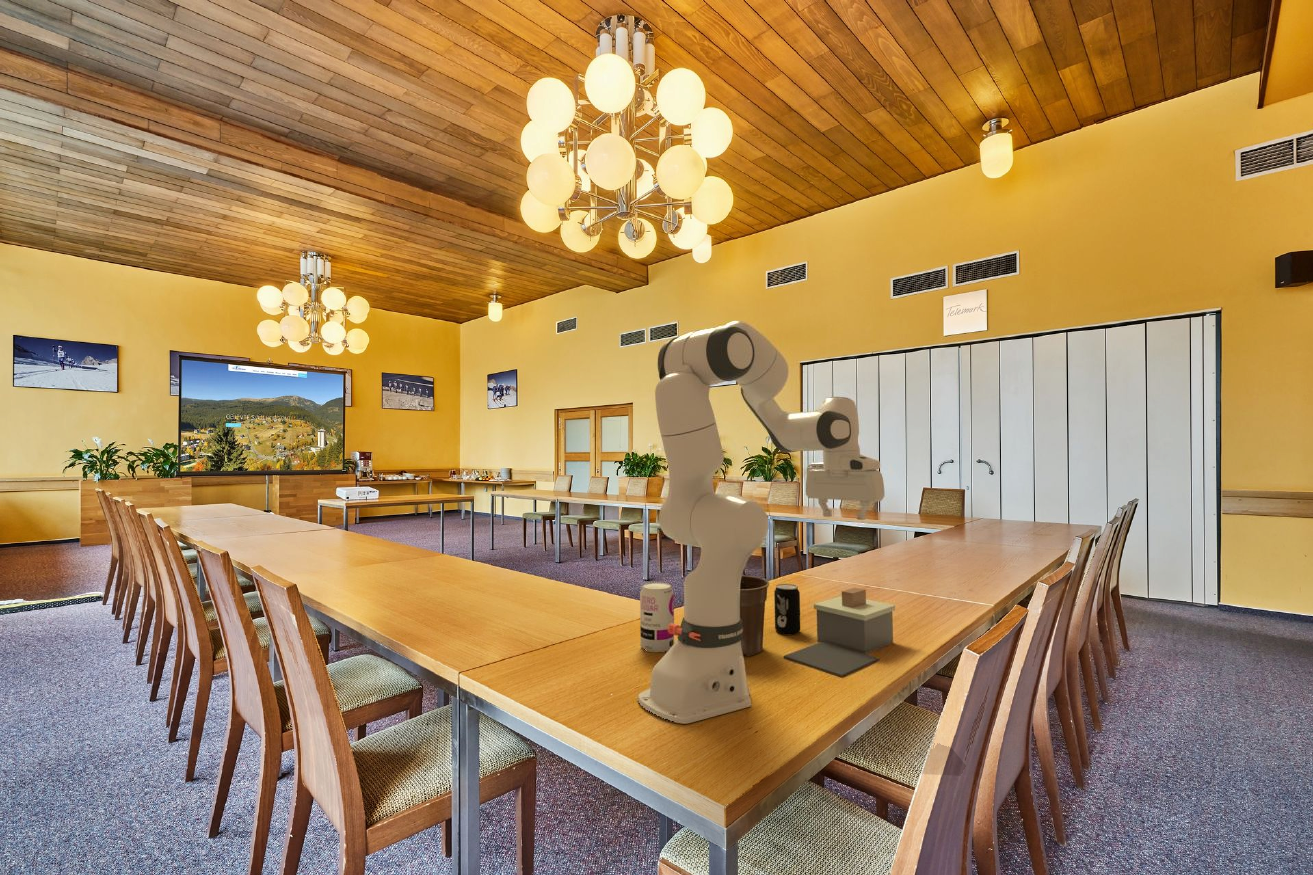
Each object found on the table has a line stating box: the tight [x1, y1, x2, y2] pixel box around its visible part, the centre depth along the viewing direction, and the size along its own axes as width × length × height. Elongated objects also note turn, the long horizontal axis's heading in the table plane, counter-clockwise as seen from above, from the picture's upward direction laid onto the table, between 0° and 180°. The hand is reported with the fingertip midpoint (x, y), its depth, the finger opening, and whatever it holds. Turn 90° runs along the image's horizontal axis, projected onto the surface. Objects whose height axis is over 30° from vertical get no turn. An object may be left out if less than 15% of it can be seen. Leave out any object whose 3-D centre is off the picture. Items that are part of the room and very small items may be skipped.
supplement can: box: [639, 582, 675, 653], centre depth 136 cm, size 8×8×15 cm
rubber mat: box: [783, 642, 880, 678], centre depth 127 cm, size 15×15×1 cm
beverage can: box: [773, 583, 801, 636], centre depth 148 cm, size 7×7×12 cm
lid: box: [813, 587, 896, 621], centre depth 140 cm, size 14×14×6 cm
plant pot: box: [740, 575, 770, 657], centre depth 135 cm, size 16×16×16 cm
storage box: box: [816, 609, 894, 655], centre depth 139 cm, size 13×13×8 cm
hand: (844, 518), depth 139 cm, fingers open, 8 cm apart
